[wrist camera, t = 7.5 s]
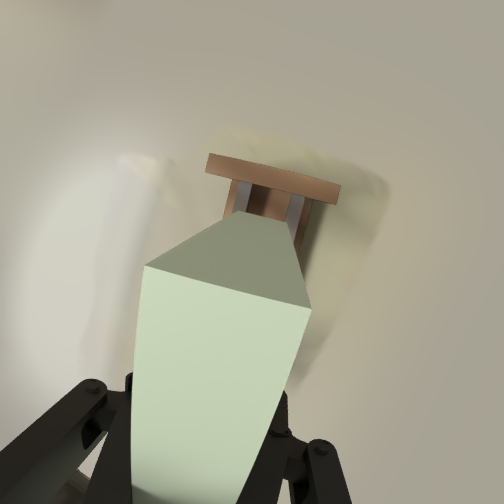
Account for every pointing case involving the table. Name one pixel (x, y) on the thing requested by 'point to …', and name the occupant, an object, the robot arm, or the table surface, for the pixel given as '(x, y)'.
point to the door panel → (213, 358)
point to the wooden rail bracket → (271, 192)
